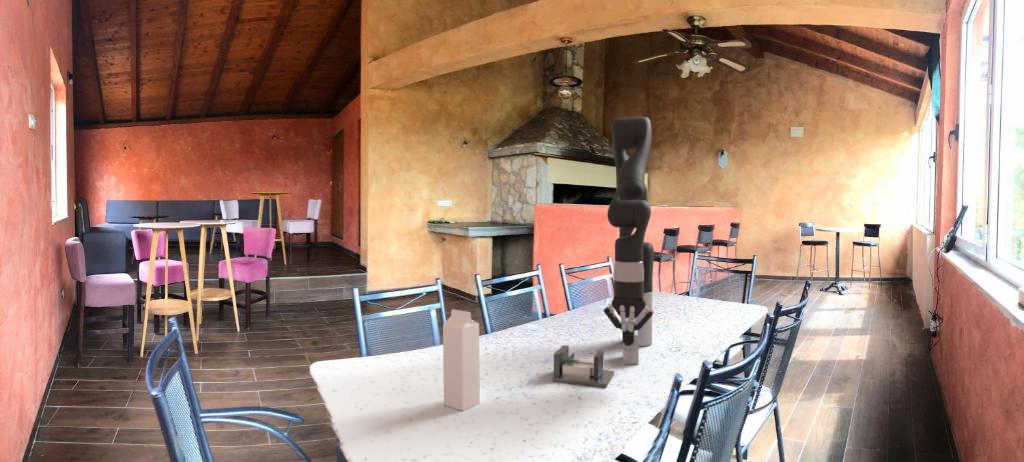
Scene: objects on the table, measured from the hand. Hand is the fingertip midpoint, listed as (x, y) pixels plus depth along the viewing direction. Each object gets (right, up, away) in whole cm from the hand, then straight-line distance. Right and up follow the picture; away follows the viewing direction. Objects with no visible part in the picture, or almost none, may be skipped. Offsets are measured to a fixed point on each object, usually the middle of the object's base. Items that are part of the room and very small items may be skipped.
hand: (628, 344), depth 138 cm
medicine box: (+5, -9, +20) cm, 22 cm away
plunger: (-11, -8, +5) cm, 15 cm away
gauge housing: (-11, -10, +5) cm, 15 cm away
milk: (-42, -11, -13) cm, 45 cm away
